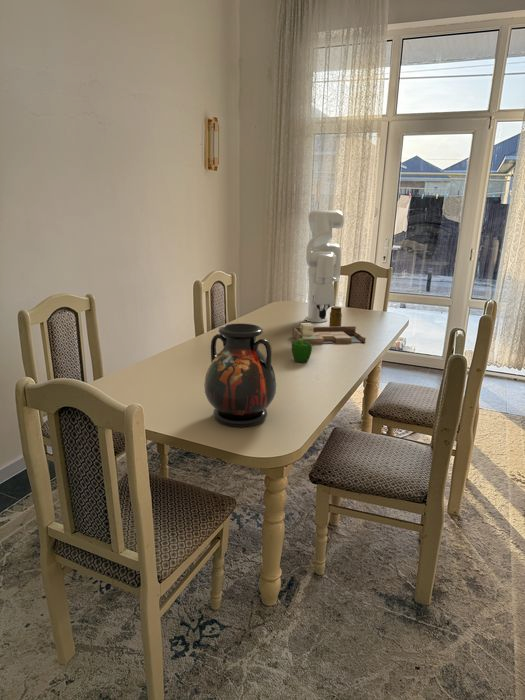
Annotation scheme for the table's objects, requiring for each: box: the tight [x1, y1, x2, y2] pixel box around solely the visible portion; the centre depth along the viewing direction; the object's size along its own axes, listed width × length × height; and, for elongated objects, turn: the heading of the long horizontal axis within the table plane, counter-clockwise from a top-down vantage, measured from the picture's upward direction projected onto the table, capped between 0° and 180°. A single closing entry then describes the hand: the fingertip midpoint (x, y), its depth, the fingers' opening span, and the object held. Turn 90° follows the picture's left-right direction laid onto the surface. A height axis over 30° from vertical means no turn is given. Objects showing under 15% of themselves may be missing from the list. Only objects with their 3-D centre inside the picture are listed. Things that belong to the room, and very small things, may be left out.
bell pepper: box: [291, 339, 313, 363], centre depth 204 cm, size 8×8×10 cm
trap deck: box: [292, 325, 367, 345], centre depth 238 cm, size 15×32×4 cm, turn 100°
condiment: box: [328, 306, 343, 327], centre depth 256 cm, size 7×8×12 cm
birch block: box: [300, 322, 315, 336], centre depth 237 cm, size 5×5×5 cm
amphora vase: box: [203, 323, 277, 428], centre depth 146 cm, size 22×22×28 cm
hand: (322, 318), depth 238 cm, fingers closed
